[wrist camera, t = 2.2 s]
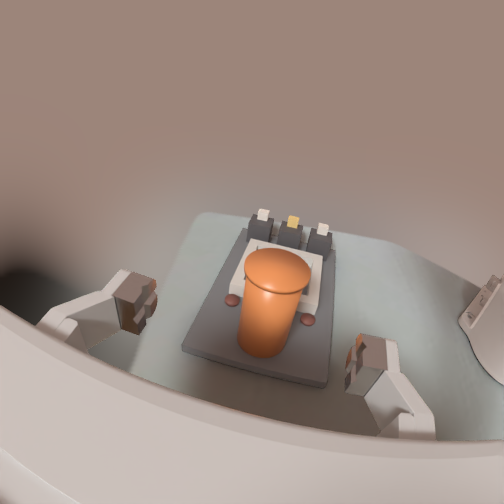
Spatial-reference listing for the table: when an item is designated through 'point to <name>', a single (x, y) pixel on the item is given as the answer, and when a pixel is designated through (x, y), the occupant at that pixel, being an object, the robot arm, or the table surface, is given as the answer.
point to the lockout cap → (270, 300)
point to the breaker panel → (306, 316)
